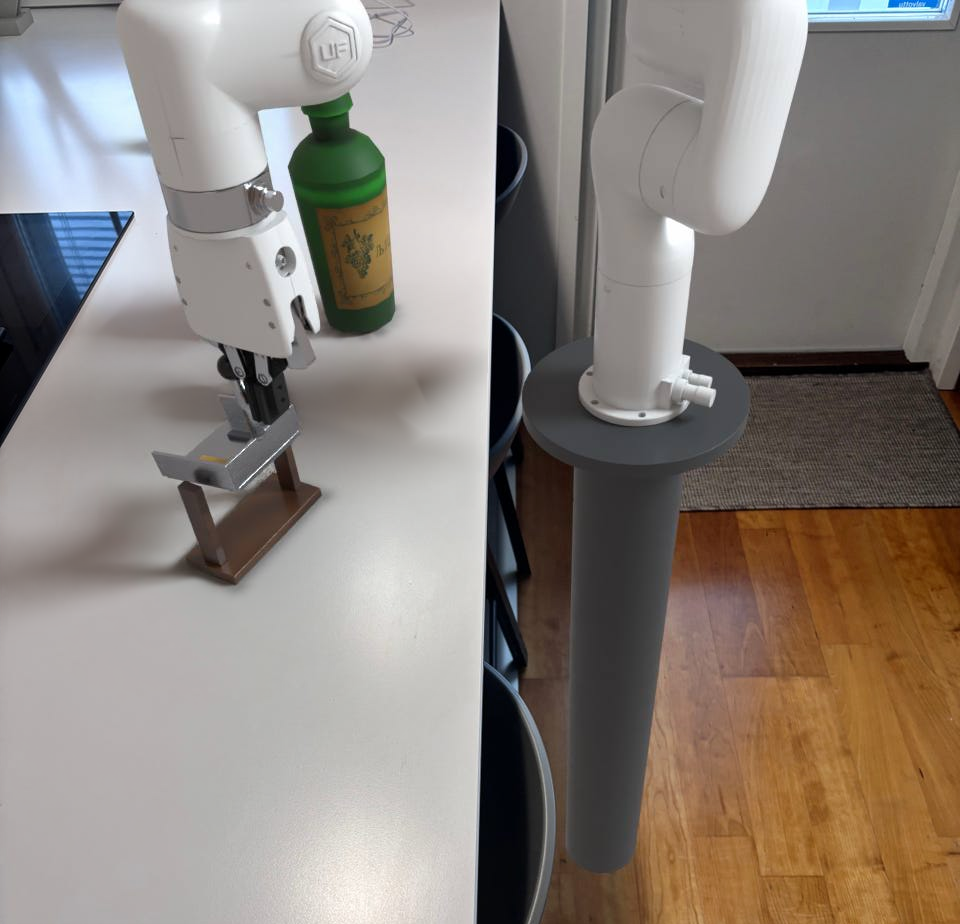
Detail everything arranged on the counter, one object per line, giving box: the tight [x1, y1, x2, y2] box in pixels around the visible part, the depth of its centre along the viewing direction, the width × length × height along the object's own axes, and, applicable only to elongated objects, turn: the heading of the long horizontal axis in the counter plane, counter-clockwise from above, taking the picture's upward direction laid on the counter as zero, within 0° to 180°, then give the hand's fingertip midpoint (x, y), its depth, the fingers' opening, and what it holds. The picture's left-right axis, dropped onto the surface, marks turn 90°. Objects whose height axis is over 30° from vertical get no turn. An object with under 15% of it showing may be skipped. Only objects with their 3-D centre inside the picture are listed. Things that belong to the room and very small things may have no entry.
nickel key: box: [227, 430, 252, 444], centre depth 90 cm, size 5×2×1 cm, turn 61°
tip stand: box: [177, 424, 323, 585], centre depth 93 cm, size 6×14×10 cm, turn 151°
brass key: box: [200, 455, 234, 464], centre depth 88 cm, size 5×2×1 cm, turn 61°
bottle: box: [287, 91, 396, 334], centre depth 111 cm, size 11×11×28 cm
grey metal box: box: [150, 353, 303, 493], centre depth 86 cm, size 10×10×11 cm
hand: (272, 414), depth 82 cm, fingers closed
